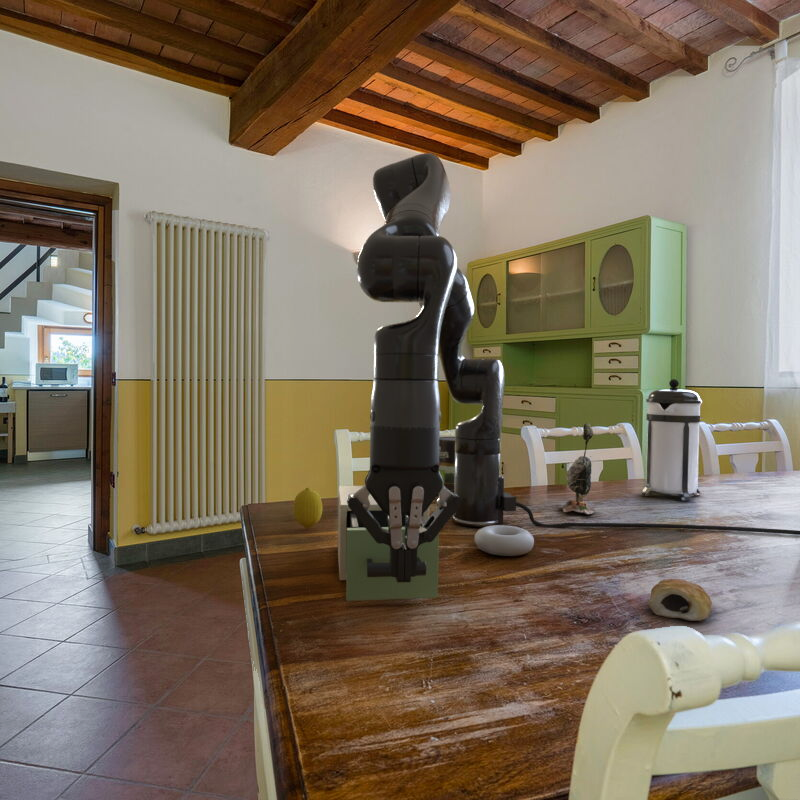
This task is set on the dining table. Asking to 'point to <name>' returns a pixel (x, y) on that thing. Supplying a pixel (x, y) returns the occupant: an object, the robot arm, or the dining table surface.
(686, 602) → the pastry
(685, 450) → the coffee press
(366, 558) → the drawer
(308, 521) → the lemon
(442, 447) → the coffee can
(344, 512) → the small bedside cabinet
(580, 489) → the stone sculpture
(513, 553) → the donut
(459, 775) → the dining table surface
